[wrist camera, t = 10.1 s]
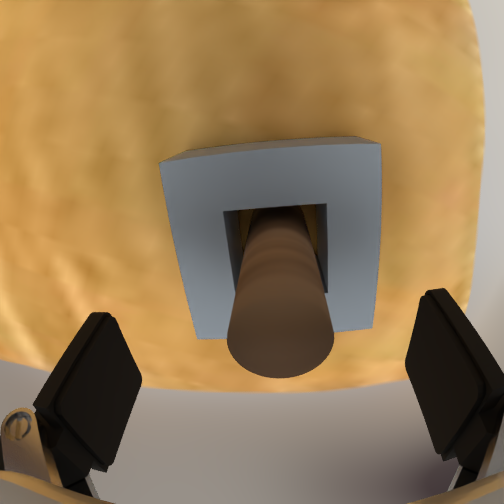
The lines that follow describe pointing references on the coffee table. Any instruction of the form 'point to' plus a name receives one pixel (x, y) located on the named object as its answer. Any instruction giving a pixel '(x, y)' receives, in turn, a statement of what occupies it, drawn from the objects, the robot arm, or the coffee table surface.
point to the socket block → (274, 195)
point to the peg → (279, 299)
